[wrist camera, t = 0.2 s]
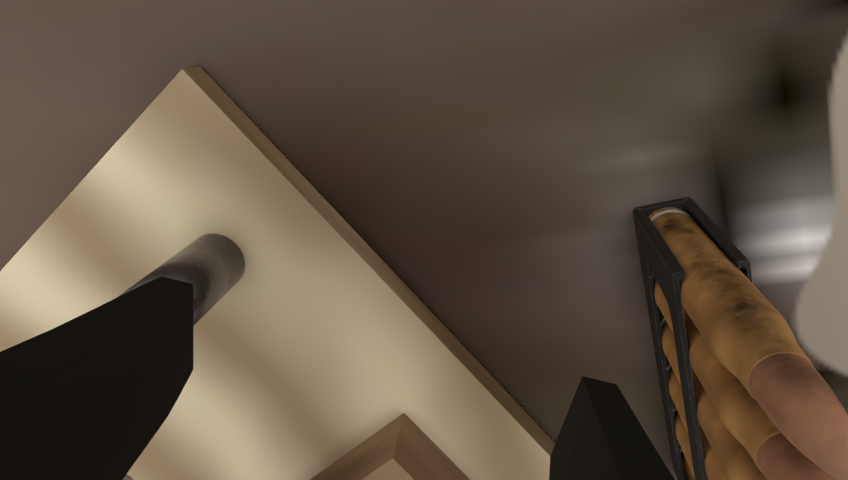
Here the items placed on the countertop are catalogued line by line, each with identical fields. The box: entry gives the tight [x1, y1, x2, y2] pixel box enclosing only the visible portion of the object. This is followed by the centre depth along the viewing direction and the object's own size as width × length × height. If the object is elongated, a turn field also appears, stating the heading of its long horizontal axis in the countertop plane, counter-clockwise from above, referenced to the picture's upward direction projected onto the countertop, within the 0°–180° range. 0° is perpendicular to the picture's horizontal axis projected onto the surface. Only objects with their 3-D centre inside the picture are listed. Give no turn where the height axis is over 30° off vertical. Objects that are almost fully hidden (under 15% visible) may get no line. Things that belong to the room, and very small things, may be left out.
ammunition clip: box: [633, 198, 848, 480], centre depth 16 cm, size 11×2×12 cm, turn 14°
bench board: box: [0, 66, 555, 480], centre depth 24 cm, size 14×24×1 cm, turn 42°
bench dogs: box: [116, 234, 245, 326], centre depth 21 cm, size 8×2×6 cm, turn 132°
